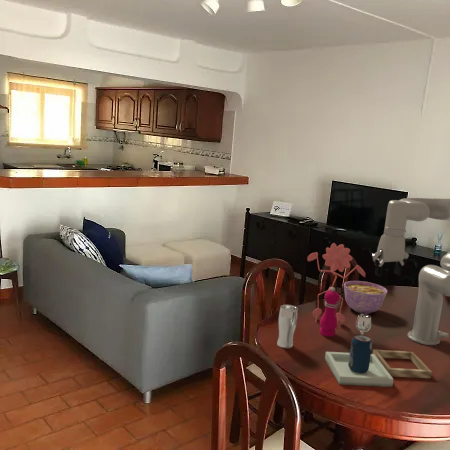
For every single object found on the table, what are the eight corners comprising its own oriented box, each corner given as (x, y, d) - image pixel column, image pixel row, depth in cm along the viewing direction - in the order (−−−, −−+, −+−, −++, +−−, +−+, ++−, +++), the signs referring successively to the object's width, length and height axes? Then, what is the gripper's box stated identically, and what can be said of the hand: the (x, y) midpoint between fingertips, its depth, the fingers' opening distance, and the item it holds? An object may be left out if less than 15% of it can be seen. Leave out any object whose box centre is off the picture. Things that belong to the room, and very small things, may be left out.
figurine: (356, 333, 202) (367, 251, 196) (296, 319, 212) (306, 241, 206) (361, 322, 215) (372, 245, 210) (305, 309, 226) (314, 236, 220)
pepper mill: (336, 338, 194) (342, 291, 191) (318, 335, 196) (324, 288, 192) (335, 331, 201) (342, 286, 198) (318, 329, 203) (324, 283, 199)
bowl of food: (388, 310, 233) (392, 287, 231) (377, 322, 216) (381, 297, 214) (348, 300, 243) (351, 278, 241) (334, 310, 227) (337, 287, 224)
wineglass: (360, 348, 187) (364, 319, 184) (349, 342, 192) (353, 314, 189) (371, 346, 189) (375, 318, 187) (360, 340, 194) (364, 312, 192)
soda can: (371, 370, 168) (376, 338, 165) (361, 376, 163) (366, 343, 160) (354, 363, 172) (358, 331, 170) (343, 368, 167) (348, 336, 165)
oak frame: (411, 357, 183) (412, 351, 182) (430, 378, 168) (431, 371, 167) (371, 355, 182) (372, 349, 181) (387, 376, 166) (388, 369, 166)
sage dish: (372, 361, 177) (374, 354, 176) (392, 386, 159) (393, 379, 159) (324, 358, 176) (325, 351, 175) (338, 384, 158) (340, 376, 157)
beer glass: (295, 343, 187) (299, 306, 184) (292, 350, 180) (296, 312, 177) (278, 339, 189) (282, 303, 186) (273, 346, 182) (278, 308, 179)
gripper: (404, 230, 192) (397, 271, 196) (369, 230, 185) (363, 273, 189) (418, 234, 186) (411, 277, 189) (383, 234, 179) (376, 279, 182)
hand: (387, 275), depth 189 cm, fingers open, 9 cm apart
